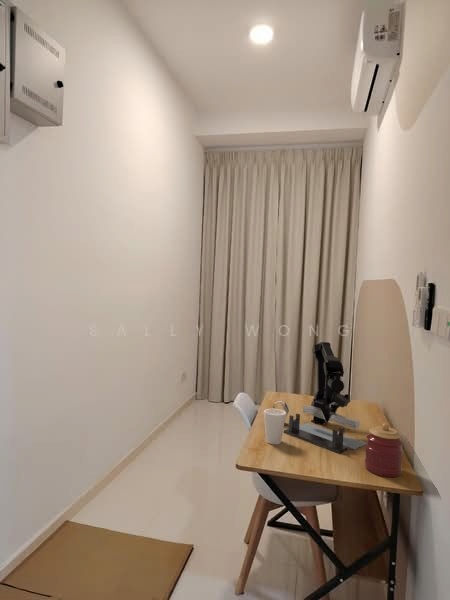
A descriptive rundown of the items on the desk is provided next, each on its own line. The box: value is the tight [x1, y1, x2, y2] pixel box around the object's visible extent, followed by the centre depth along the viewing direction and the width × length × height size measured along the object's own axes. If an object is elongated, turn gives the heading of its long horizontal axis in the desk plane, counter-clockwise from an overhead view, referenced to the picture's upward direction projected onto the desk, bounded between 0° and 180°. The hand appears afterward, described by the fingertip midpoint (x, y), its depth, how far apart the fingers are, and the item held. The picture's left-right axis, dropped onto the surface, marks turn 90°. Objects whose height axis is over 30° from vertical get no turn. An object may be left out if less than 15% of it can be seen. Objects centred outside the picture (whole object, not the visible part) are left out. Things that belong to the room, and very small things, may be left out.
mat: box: [299, 422, 367, 451], centre depth 185 cm, size 11×32×1 cm, turn 42°
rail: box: [302, 404, 361, 430], centre depth 185 cm, size 3×28×3 cm, turn 42°
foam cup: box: [263, 408, 287, 445], centre depth 175 cm, size 10×9×13 cm
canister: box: [364, 422, 404, 478], centre depth 151 cm, size 13×13×18 cm
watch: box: [272, 400, 290, 417], centre depth 199 cm, size 6×8×11 cm
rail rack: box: [283, 413, 349, 455], centre depth 178 cm, size 7×29×8 cm, turn 42°
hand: (329, 420), depth 185 cm, fingers closed on rail, 3 cm apart
